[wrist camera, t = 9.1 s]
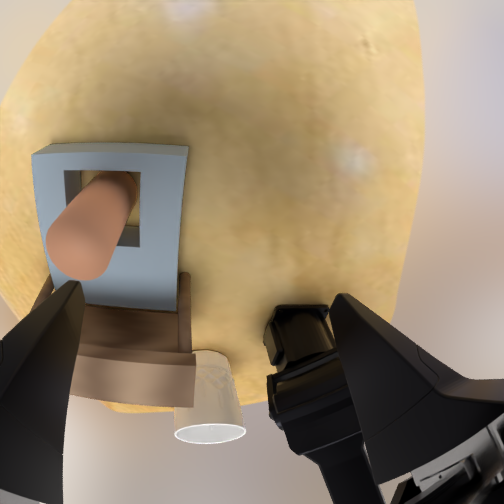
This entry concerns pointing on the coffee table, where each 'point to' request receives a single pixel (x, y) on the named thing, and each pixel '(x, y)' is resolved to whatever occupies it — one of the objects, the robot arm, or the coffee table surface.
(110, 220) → the peg
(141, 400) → the brown wooden table shape
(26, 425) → the robot arm
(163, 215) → the socket block
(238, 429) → the white cup
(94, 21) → the coffee table surface
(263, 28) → the coffee table surface
